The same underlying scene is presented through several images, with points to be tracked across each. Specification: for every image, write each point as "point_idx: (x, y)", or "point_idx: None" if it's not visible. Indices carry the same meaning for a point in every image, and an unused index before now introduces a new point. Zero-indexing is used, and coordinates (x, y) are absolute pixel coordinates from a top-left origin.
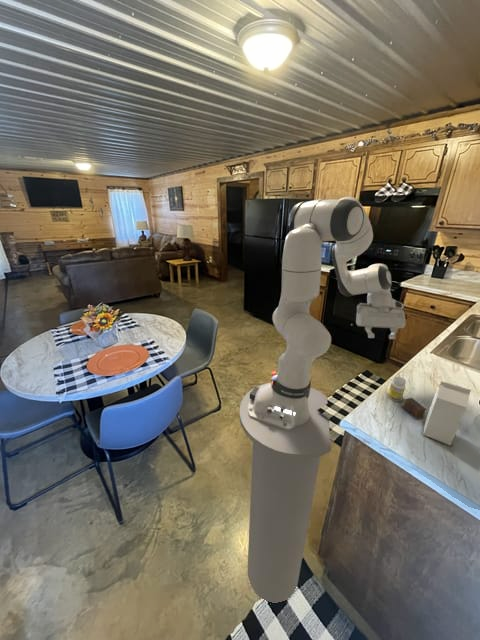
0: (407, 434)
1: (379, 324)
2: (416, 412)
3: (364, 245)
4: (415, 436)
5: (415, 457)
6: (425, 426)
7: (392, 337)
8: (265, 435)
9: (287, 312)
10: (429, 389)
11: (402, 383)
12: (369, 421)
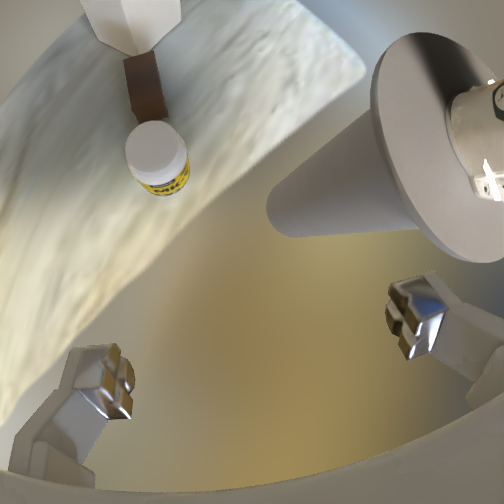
0: (225, 22)
1: (426, 465)
2: (156, 63)
3: None
4: (207, 17)
5: None
6: (171, 18)
7: (103, 350)
8: None
9: None
10: (15, 240)
11: (154, 121)
12: (314, 63)
